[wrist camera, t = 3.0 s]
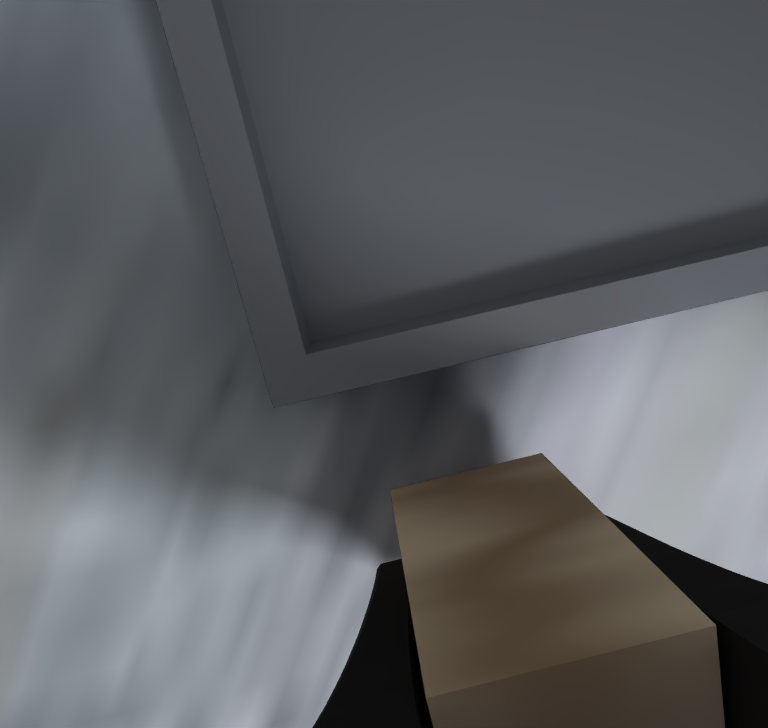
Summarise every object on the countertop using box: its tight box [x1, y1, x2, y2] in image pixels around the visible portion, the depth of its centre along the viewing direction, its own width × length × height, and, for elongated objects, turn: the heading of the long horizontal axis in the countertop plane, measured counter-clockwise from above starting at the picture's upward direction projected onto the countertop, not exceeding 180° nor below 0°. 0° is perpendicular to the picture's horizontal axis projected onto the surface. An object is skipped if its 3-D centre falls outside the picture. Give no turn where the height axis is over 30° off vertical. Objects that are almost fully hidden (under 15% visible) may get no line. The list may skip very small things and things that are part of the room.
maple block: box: [390, 453, 725, 728], centre depth 10 cm, size 4×4×6 cm
